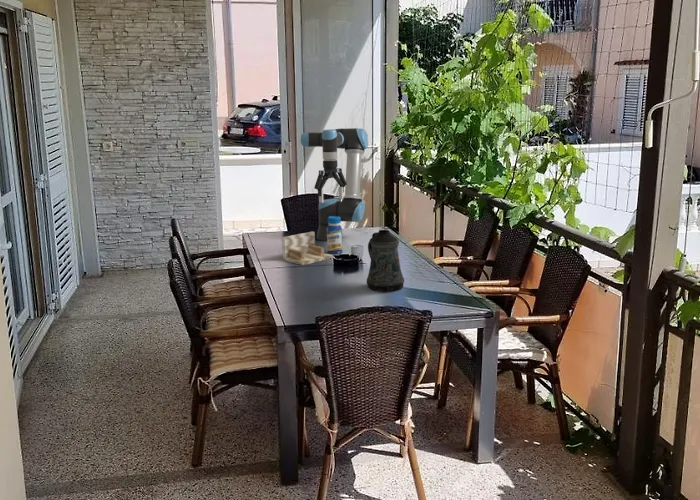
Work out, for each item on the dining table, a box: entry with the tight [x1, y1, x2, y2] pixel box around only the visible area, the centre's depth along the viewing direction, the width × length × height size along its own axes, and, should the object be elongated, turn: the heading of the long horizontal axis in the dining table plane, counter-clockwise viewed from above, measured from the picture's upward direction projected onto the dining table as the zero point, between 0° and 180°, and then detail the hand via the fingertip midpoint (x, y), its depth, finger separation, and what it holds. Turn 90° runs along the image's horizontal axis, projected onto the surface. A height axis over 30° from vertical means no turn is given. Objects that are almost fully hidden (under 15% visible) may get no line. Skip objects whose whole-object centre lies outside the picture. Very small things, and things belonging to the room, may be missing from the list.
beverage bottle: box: [326, 216, 344, 256], centre depth 362 cm, size 8×8×20 cm
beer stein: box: [366, 229, 405, 293], centre depth 299 cm, size 16×19×25 cm
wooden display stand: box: [281, 231, 333, 266], centre depth 353 cm, size 20×16×12 cm
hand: (331, 200), depth 358 cm, fingers open, 13 cm apart
